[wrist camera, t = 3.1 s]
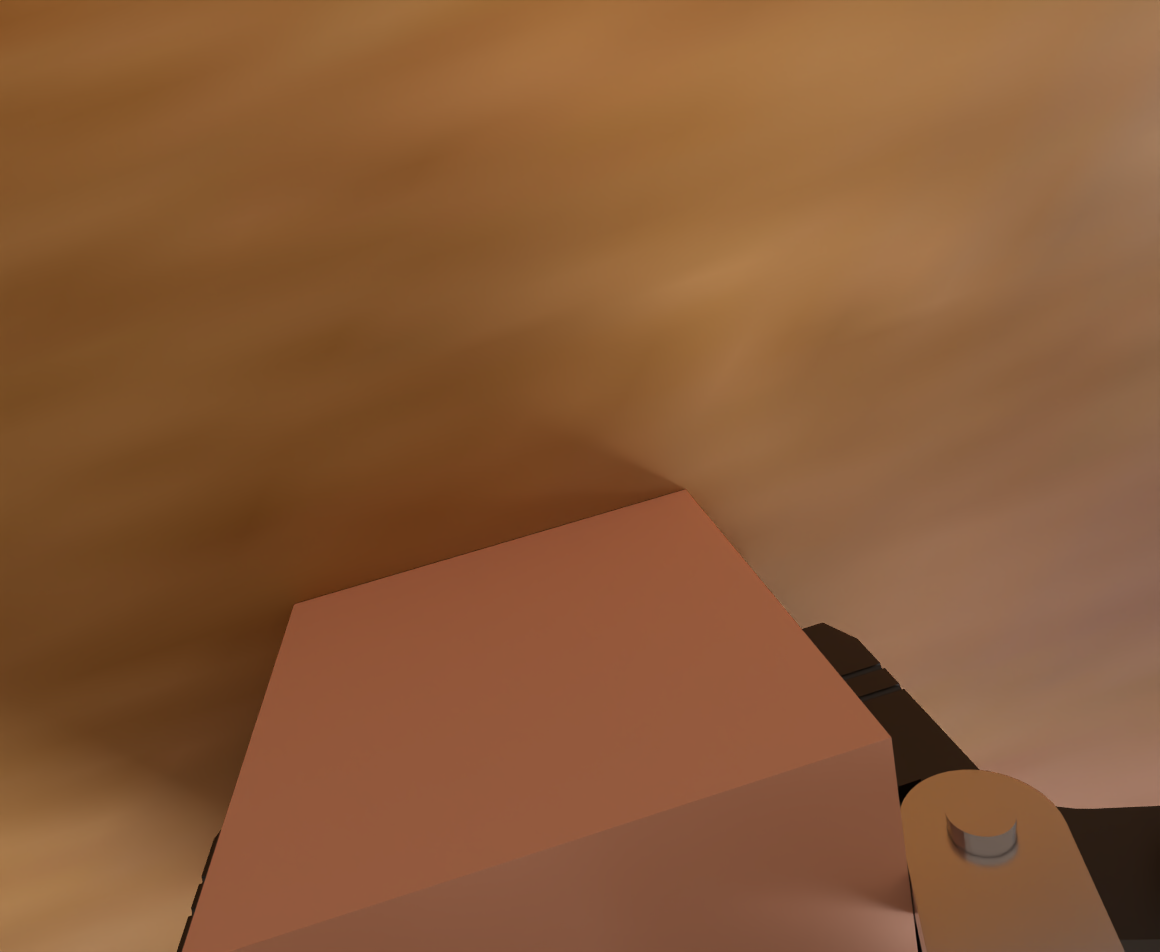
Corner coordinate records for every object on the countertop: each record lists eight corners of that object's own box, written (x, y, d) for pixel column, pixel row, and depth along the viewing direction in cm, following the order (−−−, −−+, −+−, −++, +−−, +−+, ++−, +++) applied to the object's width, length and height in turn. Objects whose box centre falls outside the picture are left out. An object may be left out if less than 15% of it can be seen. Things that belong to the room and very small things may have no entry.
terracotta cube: (685, 489, 10) (892, 736, 6) (748, 793, 12) (945, 1167, 8) (293, 604, 10) (177, 967, 5) (419, 900, 12) (411, 1364, 7)
